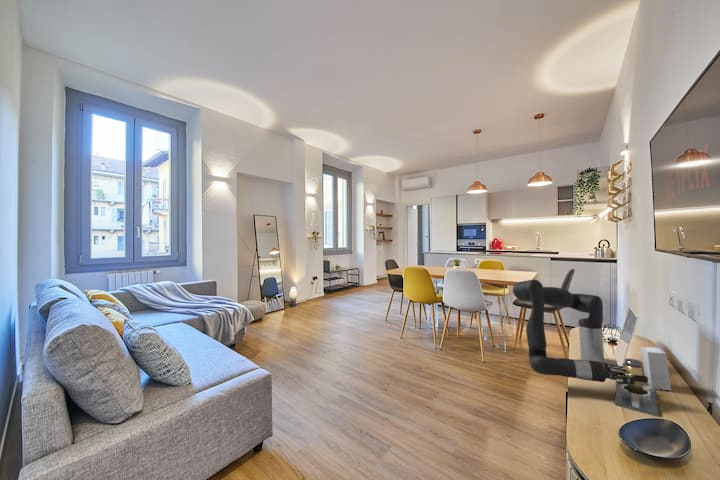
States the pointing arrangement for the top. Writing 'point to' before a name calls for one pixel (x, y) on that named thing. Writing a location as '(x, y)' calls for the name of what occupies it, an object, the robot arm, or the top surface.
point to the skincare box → (656, 368)
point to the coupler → (635, 369)
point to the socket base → (637, 399)
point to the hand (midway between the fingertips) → (643, 376)
